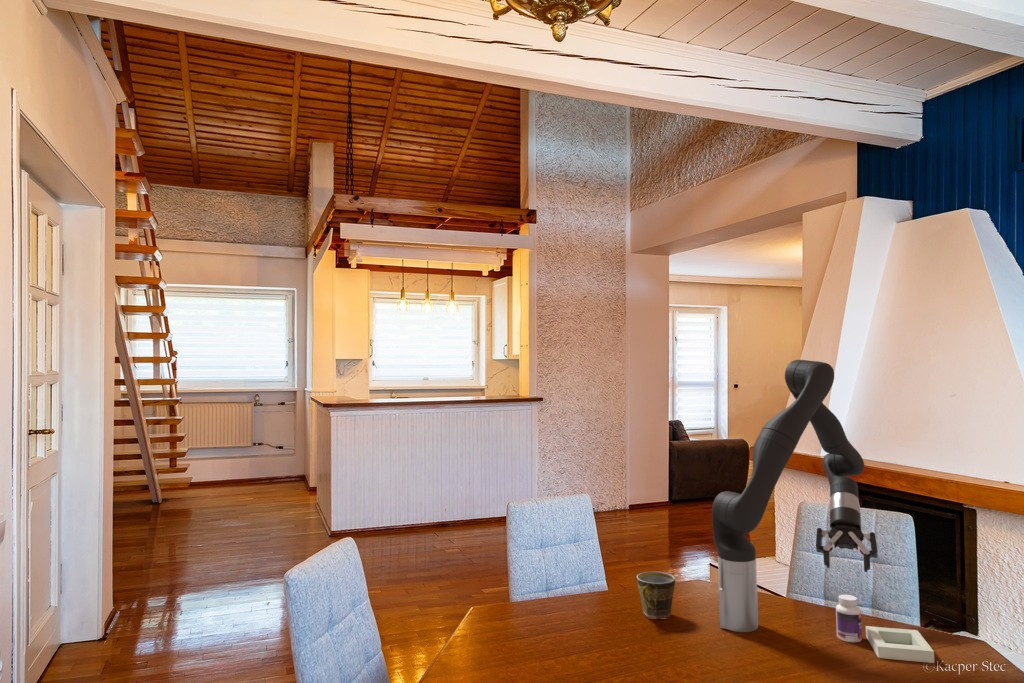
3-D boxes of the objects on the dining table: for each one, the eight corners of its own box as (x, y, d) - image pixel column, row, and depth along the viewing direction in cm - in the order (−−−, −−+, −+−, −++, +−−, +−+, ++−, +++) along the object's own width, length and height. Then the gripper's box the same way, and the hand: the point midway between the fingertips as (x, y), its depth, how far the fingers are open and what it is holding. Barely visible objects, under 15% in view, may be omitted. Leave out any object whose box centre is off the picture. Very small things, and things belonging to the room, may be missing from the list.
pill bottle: (865, 643, 156) (863, 601, 156) (840, 642, 157) (838, 600, 157) (858, 634, 161) (856, 594, 162) (834, 633, 162) (832, 592, 163)
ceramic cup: (647, 606, 183) (646, 569, 183) (682, 613, 177) (680, 575, 178) (626, 621, 173) (625, 582, 173) (662, 629, 167) (661, 589, 167)
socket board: (878, 657, 148) (877, 646, 149) (866, 636, 160) (865, 626, 160) (934, 663, 145) (933, 651, 145) (917, 640, 157) (917, 630, 157)
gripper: (815, 503, 180) (815, 557, 170) (874, 507, 174) (878, 563, 163) (816, 519, 185) (816, 572, 174) (874, 523, 179) (878, 579, 168)
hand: (846, 568), depth 169 cm, fingers open, 8 cm apart
